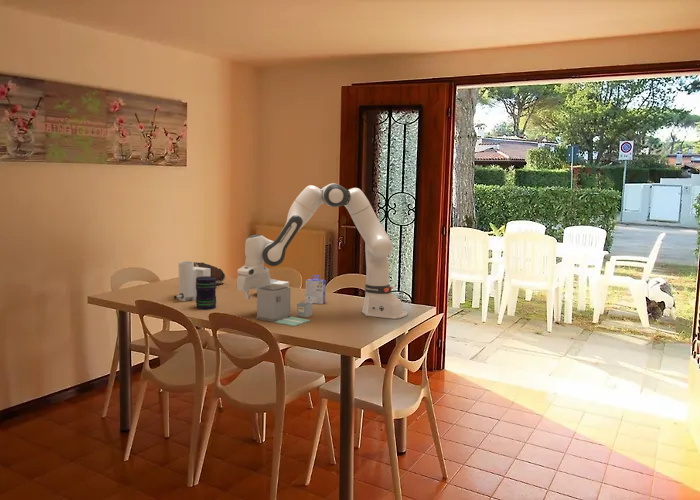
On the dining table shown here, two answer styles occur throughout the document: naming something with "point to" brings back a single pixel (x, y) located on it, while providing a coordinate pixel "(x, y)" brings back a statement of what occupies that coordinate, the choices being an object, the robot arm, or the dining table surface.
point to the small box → (281, 283)
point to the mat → (292, 321)
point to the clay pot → (212, 271)
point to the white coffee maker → (189, 280)
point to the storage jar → (206, 292)
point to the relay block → (304, 309)
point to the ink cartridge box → (315, 290)
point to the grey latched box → (273, 303)
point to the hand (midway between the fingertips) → (254, 297)
